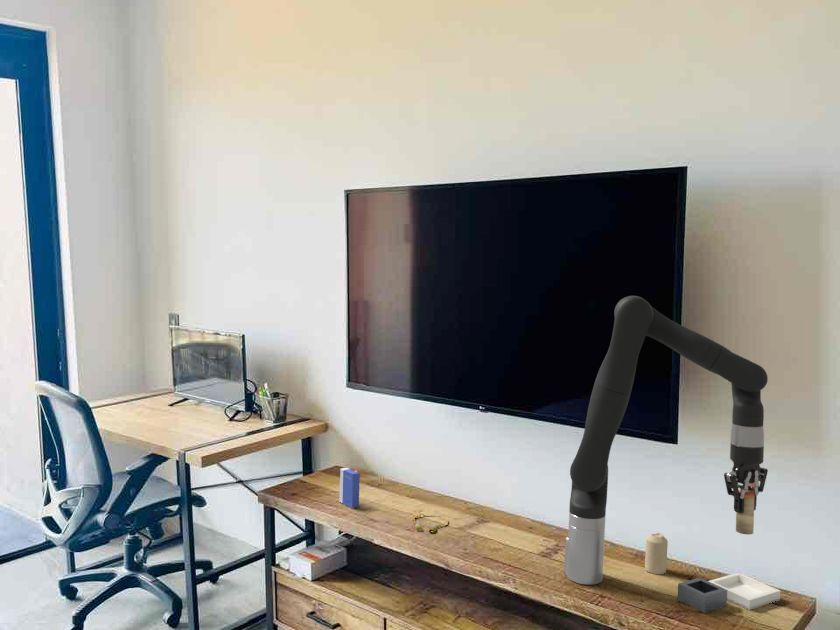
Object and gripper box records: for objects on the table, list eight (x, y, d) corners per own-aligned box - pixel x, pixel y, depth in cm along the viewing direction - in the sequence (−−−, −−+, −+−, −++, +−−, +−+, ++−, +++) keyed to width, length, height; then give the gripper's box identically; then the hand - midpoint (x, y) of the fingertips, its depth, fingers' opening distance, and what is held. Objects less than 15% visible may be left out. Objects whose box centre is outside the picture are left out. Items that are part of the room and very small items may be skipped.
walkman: (358, 507, 242) (359, 471, 241) (352, 508, 240) (352, 473, 240) (345, 501, 248) (346, 466, 247) (339, 502, 246) (339, 467, 246)
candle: (654, 565, 201) (655, 529, 200) (670, 572, 196) (672, 535, 196) (640, 568, 198) (642, 532, 197) (656, 576, 193) (658, 539, 193)
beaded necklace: (398, 527, 225) (398, 521, 225) (427, 514, 238) (427, 508, 238) (430, 536, 218) (430, 530, 218) (458, 523, 231) (458, 517, 231)
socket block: (677, 599, 179) (678, 583, 179) (699, 593, 184) (699, 577, 183) (704, 612, 173) (705, 596, 172) (726, 606, 177) (727, 590, 176)
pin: (732, 530, 181) (733, 490, 181) (742, 527, 183) (743, 488, 183) (746, 535, 178) (747, 495, 177) (756, 532, 180) (758, 492, 179)
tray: (707, 590, 185) (707, 581, 185) (737, 581, 191) (737, 572, 191) (749, 610, 175) (749, 600, 175) (779, 600, 181) (780, 590, 181)
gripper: (752, 436, 186) (750, 502, 187) (714, 442, 179) (712, 511, 180) (779, 442, 180) (776, 511, 181) (741, 448, 173) (739, 520, 174)
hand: (744, 510), depth 180 cm, fingers closed on pin, 4 cm apart
